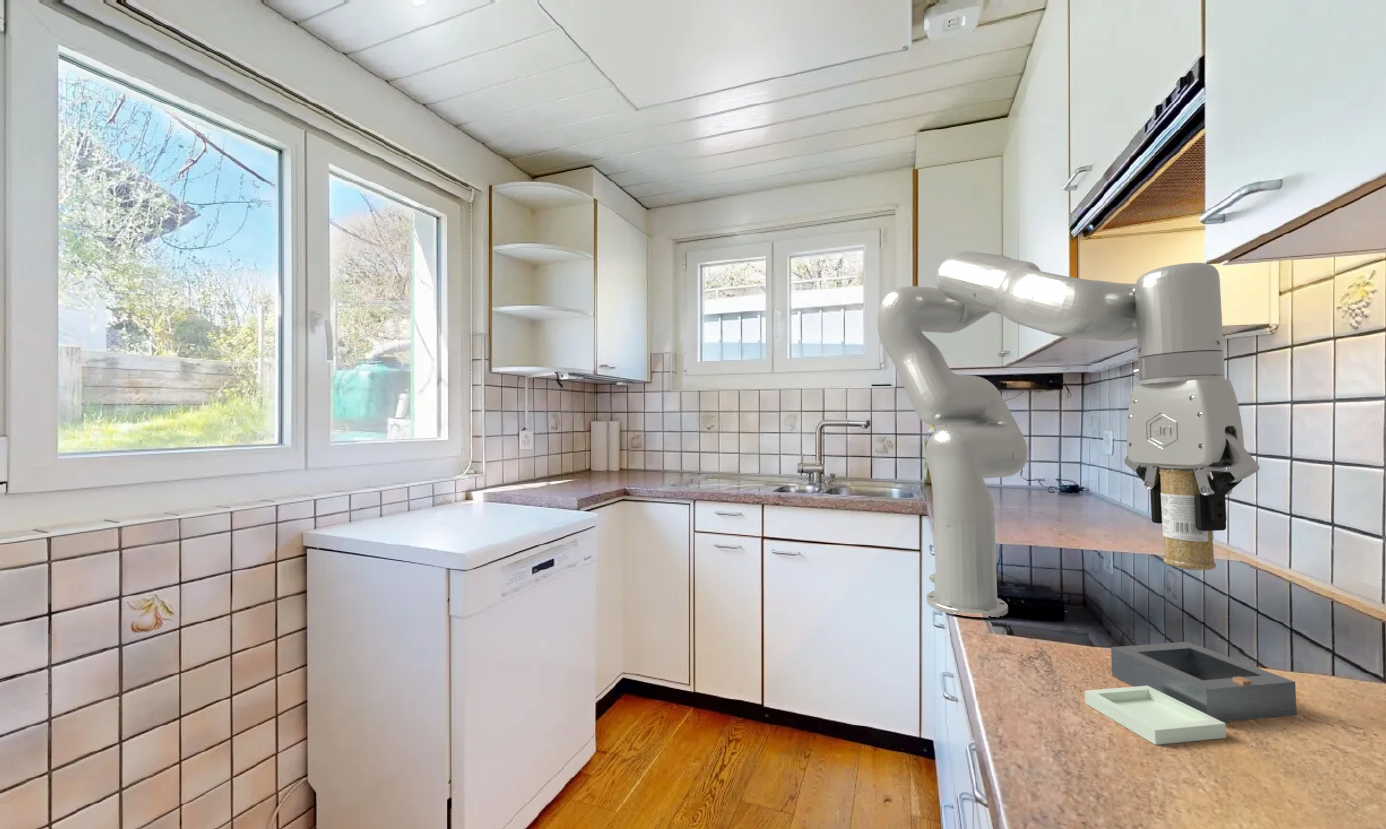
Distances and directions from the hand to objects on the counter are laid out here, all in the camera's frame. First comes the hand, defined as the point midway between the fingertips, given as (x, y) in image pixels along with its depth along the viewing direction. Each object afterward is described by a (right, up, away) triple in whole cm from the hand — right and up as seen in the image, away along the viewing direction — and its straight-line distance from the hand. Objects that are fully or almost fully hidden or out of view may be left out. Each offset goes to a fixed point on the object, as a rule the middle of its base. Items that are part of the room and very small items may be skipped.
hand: (1187, 524), depth 62 cm
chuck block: (0, -19, -1) cm, 20 cm away
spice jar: (0, -5, 0) cm, 5 cm away
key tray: (-9, -19, -6) cm, 22 cm away
